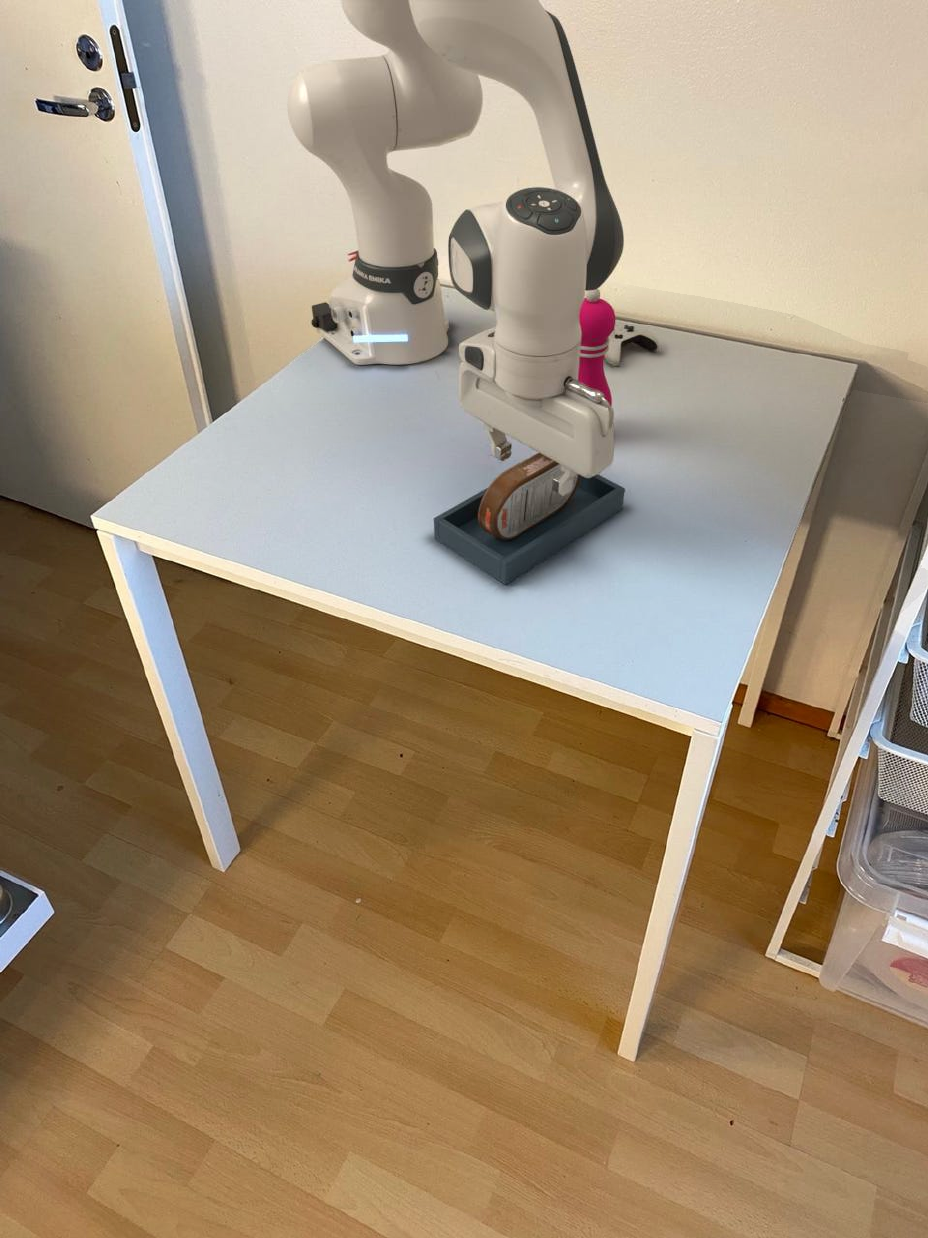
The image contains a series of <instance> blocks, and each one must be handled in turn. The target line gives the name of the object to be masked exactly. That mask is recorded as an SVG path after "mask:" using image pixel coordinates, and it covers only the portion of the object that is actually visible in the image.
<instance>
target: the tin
mask: <svg viewBox="0 0 928 1238" xmlns="http://www.w3.org/2000/svg"><path fill="white" fill-rule="evenodd" d="M561 473H563V471H561V464H559V463H557V462H556V461H554V460H552V459H550V458H548V457H547V456H545V455H543V454H541V453H539V452H537V453H535V454H533V455H531V456H530V457H528V458H526V459H524V460H522V461H521V462H518V463H517V464H515V465H513V466H511V467H510V468H508V469H506V470H504V471H503V472H501V473H500V474H499V475H498V476H497V477H496V478H495V479H493V481H492V482H491V483H490V485H489V486H488V487H489V488H488V487H487V488H488V489H487V491H486V492H485V494H484V496H483V498H482V501H481V504H480V507H479V511H478V521H479V525H480V527H481V528H482V529H483V530H484V531H486V532H488V533H490V534H491V535H493V536H494V537H496V538H498V539H500V540H504V541H506V540H511V539H514V538H516V537H517V536H519V535H521V534H522V533H524V532H526V531H527V530H529V529H531V528H532V527H534V526H536V525H537V524H539V523H540V522H542V521H544V520H545V519H547V518H549V517H550V516H552V515H554V514H555V513H557V512H558V511H560V510H561V509H562V508H563V507H564V506H565V505H566V504H567V503H568V502H569V501H570V499H571V498H572V496H573V495H574V493H575V491H576V489H577V487H578V484H579V479H580V475H579V474H577V475H576V476H575V477H574V478H573V485H572V490H571V491H570V492H569V493H567V494H566V495H564V496H562V495H560V494H558V493H557V492H555V491H553V490H552V486H553V484H552V482H553V478H555V477H556V476H559V474H561ZM564 473H565V472H564Z"/></svg>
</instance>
